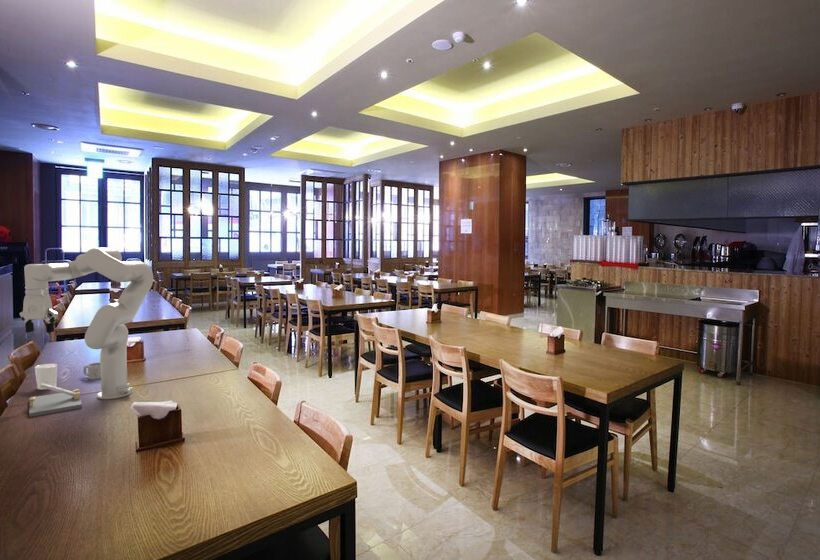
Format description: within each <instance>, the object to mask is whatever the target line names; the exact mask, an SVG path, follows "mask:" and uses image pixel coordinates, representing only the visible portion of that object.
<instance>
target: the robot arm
mask: <svg viewBox="0 0 820 560" xmlns="http://www.w3.org/2000/svg"><path fill="white" fill-rule="evenodd" d="M122 260H123V257H122V254H121V252H120V251H119V250H117V249H116V248H112V247H95V248H94V247H93V248H91V249H89V250H87V251H86V252H85V253H82V254H79V255H77V256H76V258H75V260H72V261H67V262H55V263H44V264H43V263H31V264H29V263H28V264H26V265H25V266H24V268H23V269H24V283H25V284H24V285H25V291H24V293H25V296H24V297H23V298H24V299H23V304H22V305H23V307H22V311H21V312H19V316H20V317H21V320H22V321H23V324H25V325H24V326H25V333H26V334H27V333H28V334H29V333H32V332H34V331H35V327H34V325H35V324H34V322H33V321H34V320H36V321H37V320H44V321H45V322H46V323H45V328H46V329H45V330H46V333H49V334H50V333H55V323H56V320H57V319H58V316H59V312H57V311H56V310H54V309H53V304H52V298H51V295H50V293H49V292H50V291H49V282H59V281H68V280H73V279H76V278H80V277H83V276H87V275H90V274H92V273H98V274H100V275H102V276H104V277H106V278H108V279H109V280H111V281H114V282H116V283H126V282H127V283H128V282H130V283H129V284H128V285H126V287H125V288H124V289H123V290H122V292H121V295H120V296H119V298H118V300H117V301H116V302H112V303H107V304H105V305H103V306H101V307H100V308H99V309H98V310H97V311H96V312H95V314H94V316H93V319H92V320H91V322H90V324H89V325H88V328H87V329H86V331H85V333H84V342H85V345H86V346H87V347H88V348H89V349H92V350H100V354H99V355H100V356H99V360H100V362H99V363H100V367H101V379H100V388H101V391H99V392H98V393H97V394H96V395H97V396H96V397H97V399H100V400H112V399H113V400H114V399H120V398H123V397H127V396H129V395H131V394H132V393H133V391H134V389H135V388H134V387H132V386H130V383H128V365H127V364H128V363H127V360H128V359H127V357H128V356H127V355H128V354H127V353H128V352H127V347H128V342H129V341H128V340H129V329H128V328H127V326H126V325H125V324H128V323H130V322H132V321H133V320H134V319H135V318H136V315H137V314H138V312H139V310H140V308H141V307H142V304H143V303H144V300H145V298H146V297H147V295H148V293H149V292H150V290H151V288H152V286H153V282H154V274H153V270H152V268H151V267H150V266H149V265H148V264H147V263H146V262H143V261H140V260H127V261H125V260H123V261H122Z"/></svg>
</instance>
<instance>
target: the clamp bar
mask: <svg viewBox="0 0 820 560" xmlns="http://www.w3.org/2000/svg"><path fill="white" fill-rule="evenodd" d="M40 387H43V388H46V389H45V390H50V391H52V392H53V391H54V392H57V393H64V394H67V395H71V396H74V393H76V392H72V391H73V390H68V389H65V388H63V387H58V386H56V387H55V386H52V385H48V384H45V383H41V385H40Z"/></svg>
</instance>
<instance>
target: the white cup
mask: <svg viewBox="0 0 820 560" xmlns="http://www.w3.org/2000/svg"><path fill="white" fill-rule="evenodd" d="M34 372H35V373H34V374H35V381H36V386H37V388H36V389H37V390H40V391H41V390H47V389H46V388H43V387H40V385H41V383H45V384H48V385H52V386H55V387H58V386H57V380H58V364H57V363H43V364H38V365H36V366H34Z"/></svg>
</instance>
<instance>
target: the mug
mask: <svg viewBox="0 0 820 560" xmlns="http://www.w3.org/2000/svg"><path fill="white" fill-rule="evenodd" d="M83 375H84V376H87V377H88V380H101V367H100V362H93V363H89V364H88V365H84V366H83Z"/></svg>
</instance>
